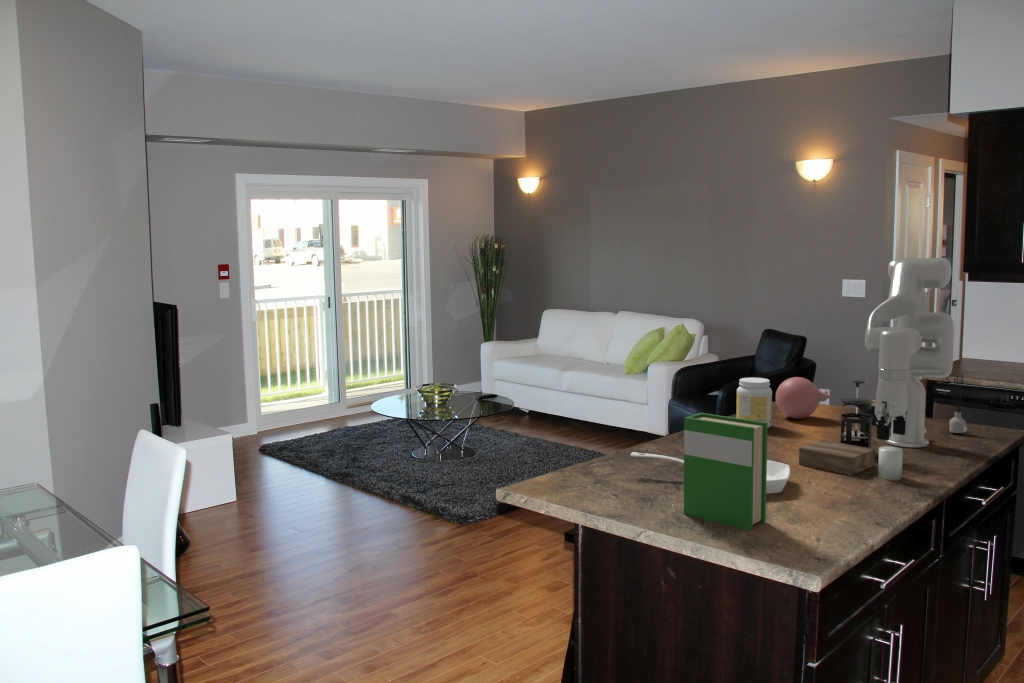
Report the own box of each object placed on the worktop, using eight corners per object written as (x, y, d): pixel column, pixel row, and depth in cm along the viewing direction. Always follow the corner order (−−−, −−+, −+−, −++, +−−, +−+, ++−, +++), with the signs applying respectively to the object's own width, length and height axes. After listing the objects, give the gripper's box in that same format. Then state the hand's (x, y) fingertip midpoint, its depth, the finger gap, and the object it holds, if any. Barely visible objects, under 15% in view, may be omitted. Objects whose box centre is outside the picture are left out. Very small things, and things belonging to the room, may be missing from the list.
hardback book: (765, 522, 190) (767, 422, 187) (750, 530, 185) (752, 428, 182) (699, 506, 202) (700, 412, 199) (683, 514, 197) (684, 417, 194)
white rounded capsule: (883, 472, 228) (884, 445, 227) (905, 477, 223) (906, 449, 222) (873, 477, 224) (874, 449, 223) (895, 481, 220) (896, 453, 219)
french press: (861, 460, 241) (863, 384, 238) (831, 454, 248) (833, 381, 245) (880, 453, 248) (883, 379, 246) (851, 448, 256) (853, 376, 253)
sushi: (889, 423, 288) (890, 401, 287) (868, 425, 286) (869, 403, 285) (874, 419, 296) (875, 397, 295) (854, 420, 294) (855, 399, 293)
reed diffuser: (960, 437, 266) (963, 377, 264) (938, 434, 271) (941, 375, 269) (970, 431, 273) (973, 373, 271) (948, 428, 278) (951, 371, 276)
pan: (788, 503, 204) (789, 478, 203) (620, 488, 219) (620, 465, 218) (791, 473, 229) (791, 451, 229) (640, 462, 244) (640, 441, 244)
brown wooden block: (822, 455, 247) (823, 439, 246) (874, 465, 235) (875, 449, 234) (798, 464, 238) (799, 448, 237) (851, 475, 226) (851, 458, 225)
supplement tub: (747, 421, 296) (748, 375, 294) (778, 426, 287) (779, 379, 285) (729, 426, 288) (729, 380, 286) (760, 432, 279) (760, 384, 277)
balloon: (821, 426, 286) (822, 383, 284) (767, 418, 299) (768, 378, 298) (838, 419, 297) (839, 377, 295) (786, 412, 310) (787, 372, 309)
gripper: (893, 371, 229) (891, 430, 230) (865, 377, 217) (862, 439, 219) (921, 373, 223) (918, 434, 225) (893, 380, 212) (890, 443, 213)
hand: (891, 436), depth 222 cm, fingers open, 9 cm apart
